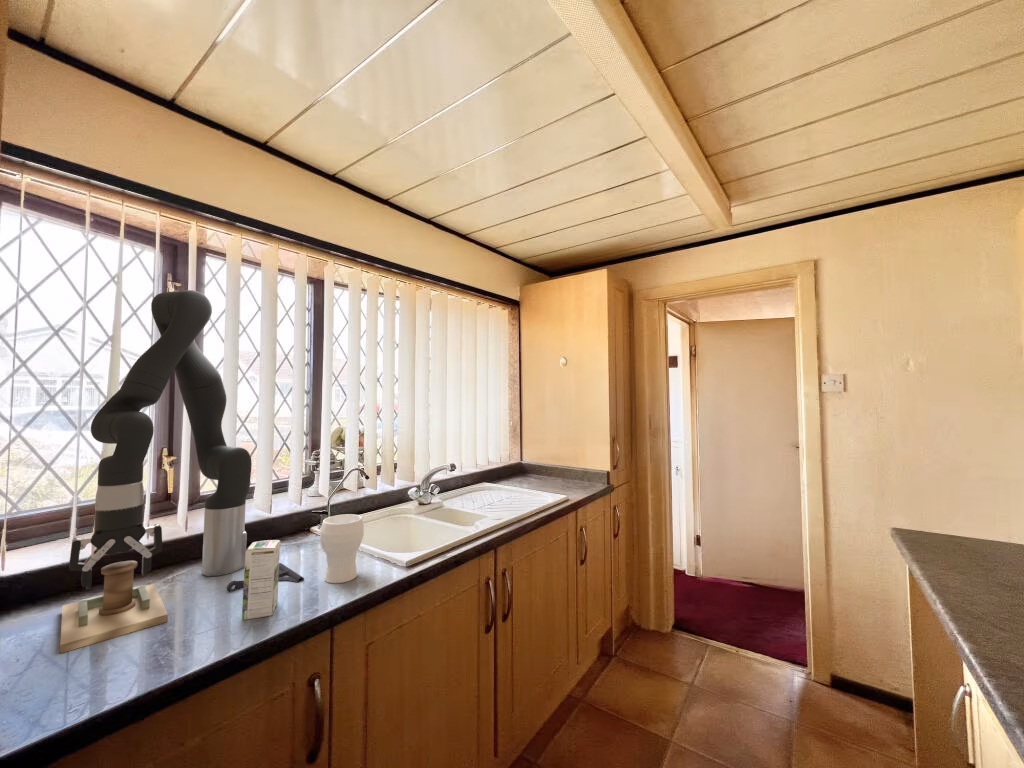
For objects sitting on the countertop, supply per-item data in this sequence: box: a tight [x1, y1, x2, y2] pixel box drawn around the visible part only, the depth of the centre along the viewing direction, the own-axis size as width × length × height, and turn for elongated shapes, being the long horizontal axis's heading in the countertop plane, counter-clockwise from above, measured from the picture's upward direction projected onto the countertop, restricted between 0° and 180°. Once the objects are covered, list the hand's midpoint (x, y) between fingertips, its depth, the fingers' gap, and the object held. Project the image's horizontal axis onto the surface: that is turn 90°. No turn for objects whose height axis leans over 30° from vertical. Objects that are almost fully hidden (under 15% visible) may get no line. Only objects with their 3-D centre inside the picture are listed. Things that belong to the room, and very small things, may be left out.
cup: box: [319, 513, 365, 584], centre depth 107 cm, size 11×11×15 cm
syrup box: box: [241, 539, 281, 621], centre depth 89 cm, size 6×6×14 cm
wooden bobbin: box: [99, 560, 138, 616], centre depth 87 cm, size 6×6×9 cm
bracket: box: [226, 562, 305, 593], centre depth 104 cm, size 14×15×3 cm
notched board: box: [59, 583, 169, 654], centre depth 87 cm, size 15×21×4 cm
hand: (117, 581), depth 87 cm, fingers open, 8 cm apart
